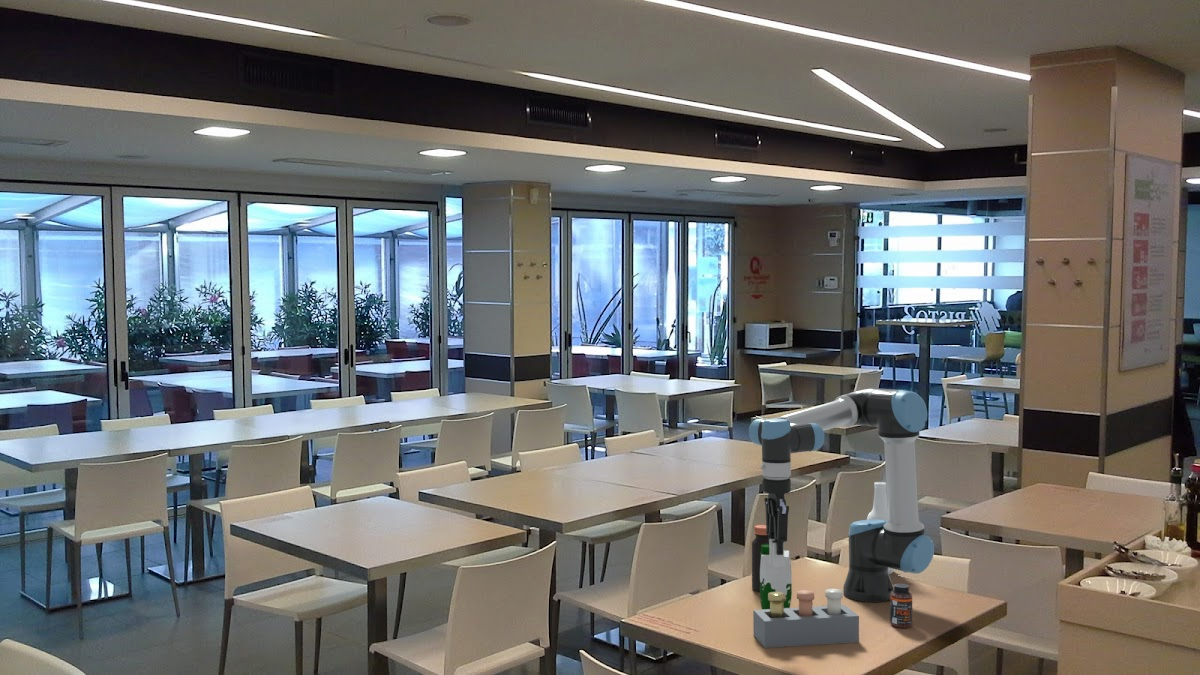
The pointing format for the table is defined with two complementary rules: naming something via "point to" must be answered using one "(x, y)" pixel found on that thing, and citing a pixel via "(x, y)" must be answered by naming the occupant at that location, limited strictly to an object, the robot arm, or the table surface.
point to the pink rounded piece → (805, 602)
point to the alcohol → (880, 506)
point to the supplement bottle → (901, 606)
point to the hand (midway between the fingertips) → (776, 564)
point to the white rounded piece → (833, 601)
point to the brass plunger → (776, 604)
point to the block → (805, 627)
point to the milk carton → (774, 578)
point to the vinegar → (758, 554)
